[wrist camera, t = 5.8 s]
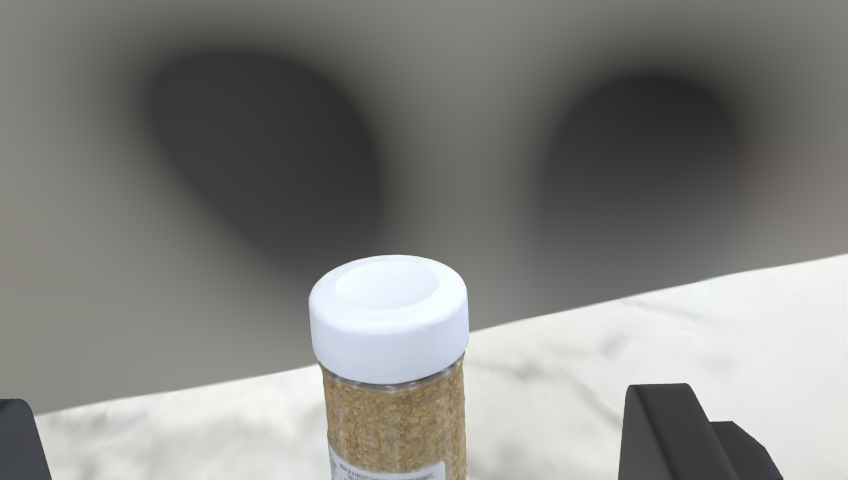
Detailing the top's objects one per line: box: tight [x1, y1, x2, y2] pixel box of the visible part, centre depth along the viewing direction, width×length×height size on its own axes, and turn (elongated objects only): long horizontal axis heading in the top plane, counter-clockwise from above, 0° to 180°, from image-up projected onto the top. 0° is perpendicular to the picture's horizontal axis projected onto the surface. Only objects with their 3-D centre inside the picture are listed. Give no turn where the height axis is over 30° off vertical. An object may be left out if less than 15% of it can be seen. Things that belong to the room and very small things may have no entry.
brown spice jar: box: [309, 255, 469, 480], centre depth 25 cm, size 5×5×13 cm
